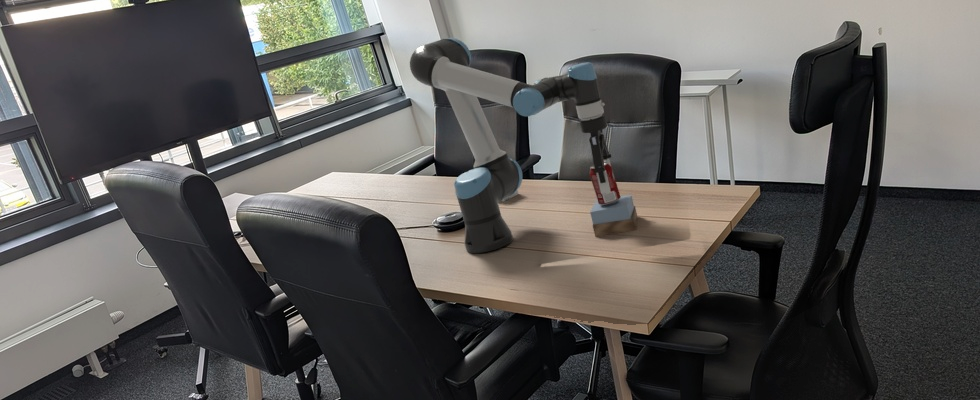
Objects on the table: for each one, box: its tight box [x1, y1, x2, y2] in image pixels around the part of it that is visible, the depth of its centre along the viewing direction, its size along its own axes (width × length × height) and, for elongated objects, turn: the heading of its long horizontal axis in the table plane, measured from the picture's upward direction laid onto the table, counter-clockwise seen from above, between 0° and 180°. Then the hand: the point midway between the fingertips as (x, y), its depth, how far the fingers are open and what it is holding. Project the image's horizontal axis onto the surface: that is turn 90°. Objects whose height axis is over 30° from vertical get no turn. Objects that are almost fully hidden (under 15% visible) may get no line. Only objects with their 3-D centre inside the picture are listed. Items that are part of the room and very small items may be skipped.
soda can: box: [588, 162, 621, 206], centre depth 220 cm, size 7×7×12 cm
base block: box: [592, 205, 638, 238], centre depth 223 cm, size 12×12×4 cm
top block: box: [589, 194, 635, 226], centre depth 222 cm, size 11×11×4 cm
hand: (607, 186), depth 220 cm, fingers open, 13 cm apart
